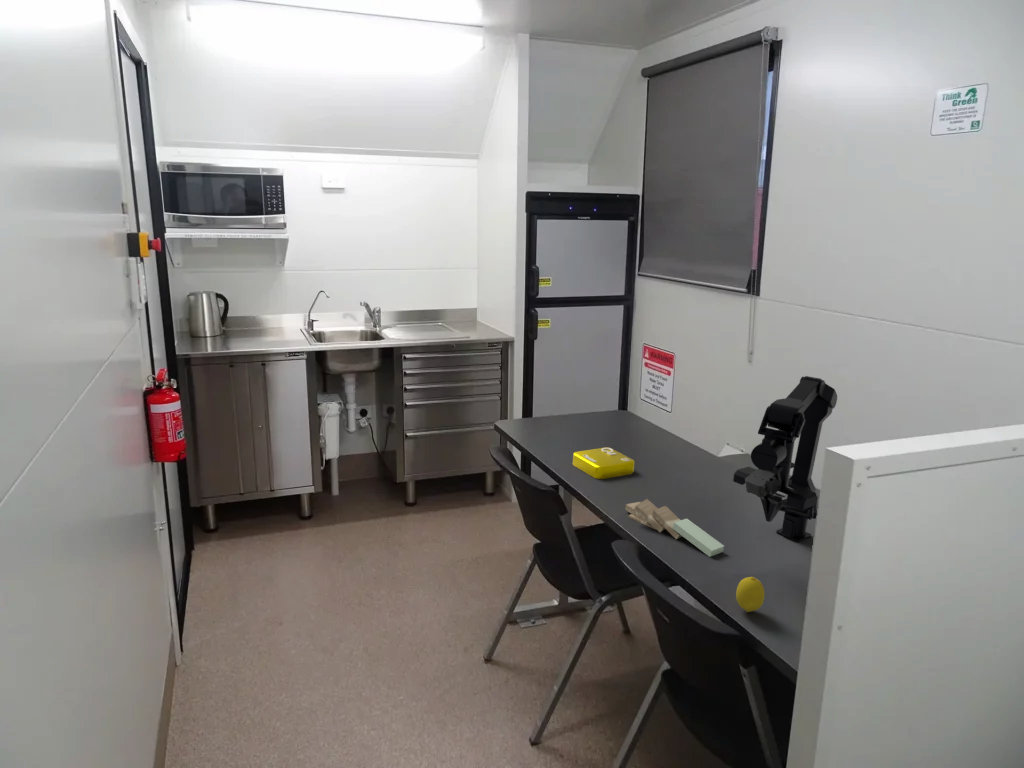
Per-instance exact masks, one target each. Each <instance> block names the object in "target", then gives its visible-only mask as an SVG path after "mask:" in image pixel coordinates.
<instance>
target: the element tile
mask: <svg viewBox="0 0 1024 768" xmlns="http://www.w3.org/2000/svg"><path fill="white" fill-rule="evenodd" d="M572 465H573V467H575V468H577V469H578V470H580V471H582V472H584V473H585V474H587V475H588V476H590V477H591V478H594V479H598V480H605V479H610V478H616V477H621V476H627V475H633V474H634V473H633V472H634V471H635V460H634V459H632V458H630V456H629V457H628V456H627V455H624V454H623V453H621V452H619V451H618V450H615V449H613V448H612V447H609V446H608V447H607V446H605V447H599V448H593V449H586V450H585V449H584V450H579V451H574V452H573V455H572ZM632 473H633V474H632Z"/></svg>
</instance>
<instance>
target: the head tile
mask: <svg viewBox="0 0 1024 768" xmlns="http://www.w3.org/2000/svg"><path fill="white" fill-rule="evenodd" d="M672 529H674V530H675V531H676V532H678V533H679V534H680V535H682V537H683V538H684V539H686V540H687V541H688V542H690V543H691V544H692V545H694V546H695V547H696V549H699V550H700V552H703V553H704V554H705V555H706V556H708V557H710V558H711V557H713V556H717V555H718V554H721V553H723V551H724V549H725V545H724V544H722V543H721V542H720V541H718V540H717V539H716V538H715V537H713V536H711V535H710V534H709V533H707V532H706V531H705V530H703V529H702V528H700V526H698V525H696V524H695V523H694V522H692V521H691V520H689V519H688V518H683V519H680V521H677V522H674V525H673V528H672Z"/></svg>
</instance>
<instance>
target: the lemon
mask: <svg viewBox="0 0 1024 768" xmlns="http://www.w3.org/2000/svg"><path fill="white" fill-rule="evenodd" d="M765 595H766V594H765V588H764V585H763V584H762V582H761V581H760V580H759V579H757V578H756V577H754V576H748V577H744V578H743V579H741V580H740V581H739V583H738V584H737V587H736V593H735V597H736V601H737V603H738V605H739V606H740V607H741V609H743V610H744V611H745V612H746V613H749V612H754V611H757V610H759V609H760V608H761V607H762V606H763V604H764V601H765Z"/></svg>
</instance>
